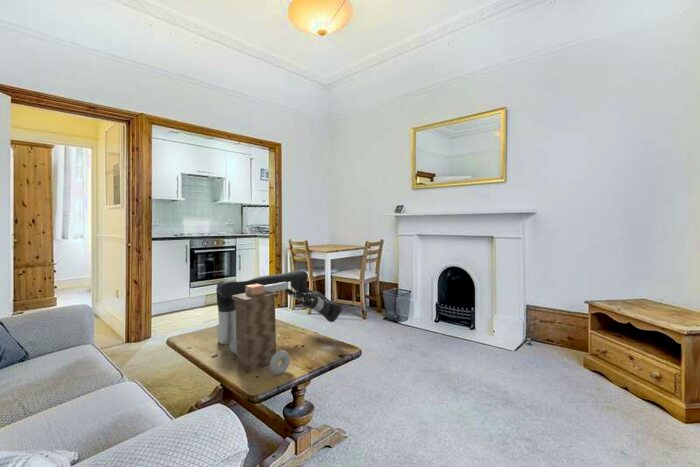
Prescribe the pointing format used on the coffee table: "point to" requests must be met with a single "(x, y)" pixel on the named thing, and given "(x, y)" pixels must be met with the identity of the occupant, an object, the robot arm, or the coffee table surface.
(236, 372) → the coffee table surface
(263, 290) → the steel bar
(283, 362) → the donut
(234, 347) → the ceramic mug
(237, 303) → the walnut stand
